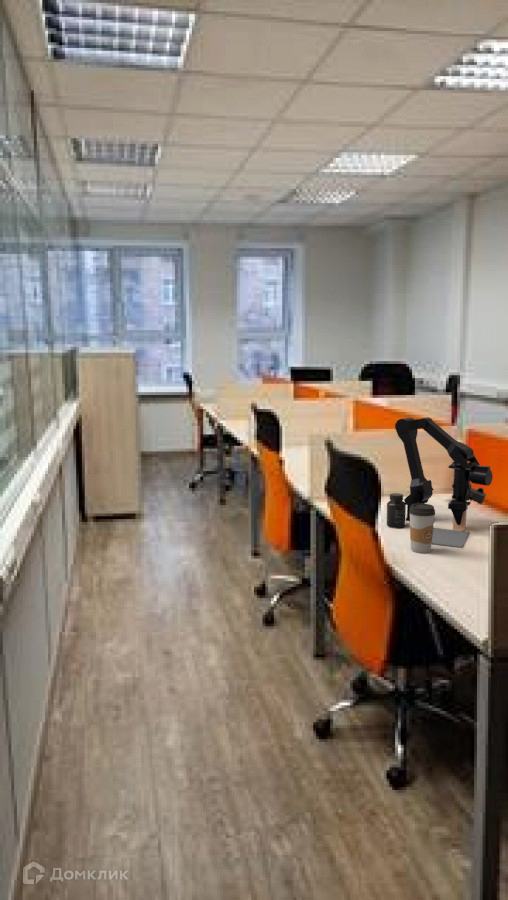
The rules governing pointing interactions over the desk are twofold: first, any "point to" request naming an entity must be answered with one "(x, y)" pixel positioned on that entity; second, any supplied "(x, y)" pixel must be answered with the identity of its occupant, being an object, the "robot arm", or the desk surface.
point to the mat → (449, 537)
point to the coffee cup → (421, 527)
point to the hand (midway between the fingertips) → (459, 523)
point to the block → (463, 522)
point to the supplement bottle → (396, 511)
